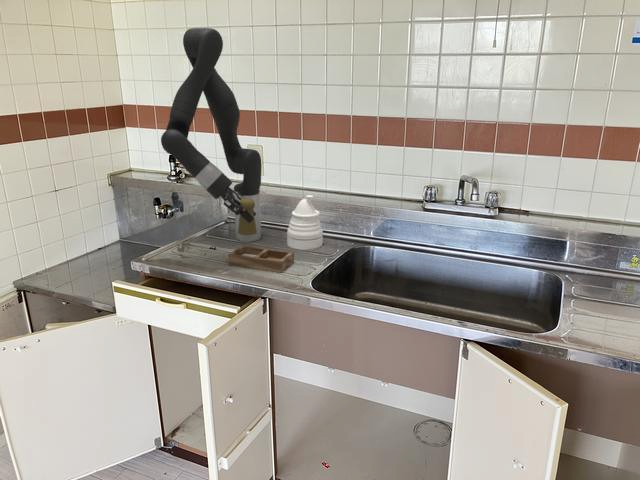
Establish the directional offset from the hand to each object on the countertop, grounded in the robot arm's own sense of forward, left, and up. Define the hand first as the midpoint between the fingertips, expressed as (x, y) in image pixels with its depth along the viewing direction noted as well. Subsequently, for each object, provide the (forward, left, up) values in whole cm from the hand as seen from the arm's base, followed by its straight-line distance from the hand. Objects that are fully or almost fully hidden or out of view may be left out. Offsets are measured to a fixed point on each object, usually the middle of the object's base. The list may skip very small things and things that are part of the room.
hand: (252, 218), depth 163 cm
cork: (+1, -2, -5) cm, 5 cm away
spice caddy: (+1, +3, -15) cm, 15 cm away
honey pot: (-23, +8, -15) cm, 29 cm away
